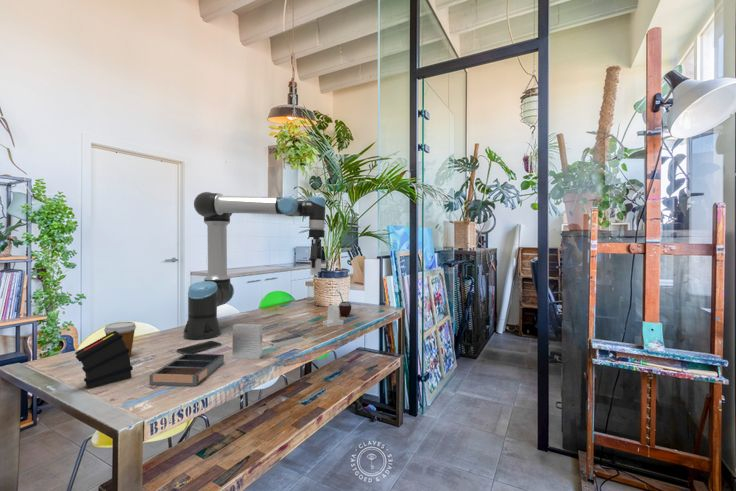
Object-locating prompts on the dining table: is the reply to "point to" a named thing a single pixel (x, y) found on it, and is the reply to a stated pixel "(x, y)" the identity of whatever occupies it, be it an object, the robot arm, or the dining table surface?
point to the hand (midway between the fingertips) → (315, 273)
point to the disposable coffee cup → (123, 332)
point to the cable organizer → (333, 317)
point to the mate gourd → (344, 308)
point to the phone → (199, 347)
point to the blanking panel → (247, 341)
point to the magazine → (105, 360)
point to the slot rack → (187, 370)
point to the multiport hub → (285, 341)
